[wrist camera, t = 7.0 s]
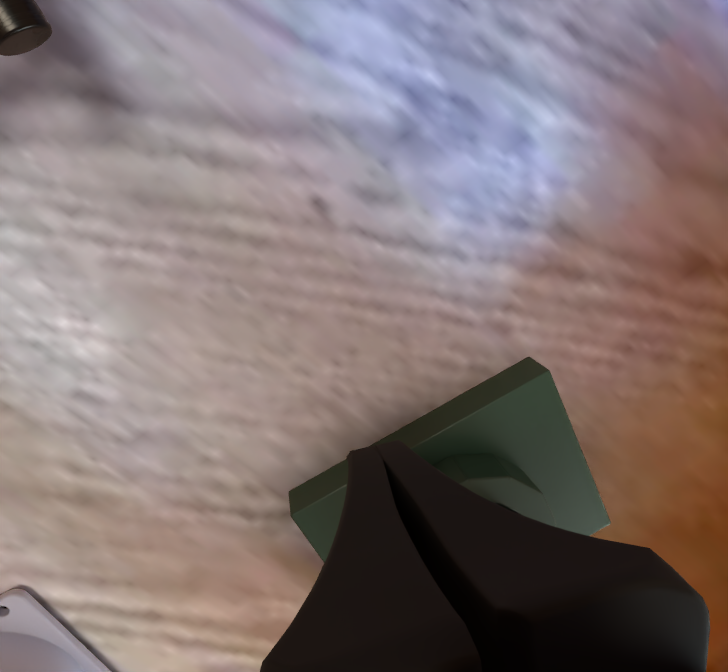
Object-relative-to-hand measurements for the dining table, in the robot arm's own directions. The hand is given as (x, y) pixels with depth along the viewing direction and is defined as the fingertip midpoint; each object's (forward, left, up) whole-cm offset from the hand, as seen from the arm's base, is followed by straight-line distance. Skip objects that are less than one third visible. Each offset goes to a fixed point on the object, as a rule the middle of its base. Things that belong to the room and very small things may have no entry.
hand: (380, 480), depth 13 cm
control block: (+1, -9, -9) cm, 12 cm away
